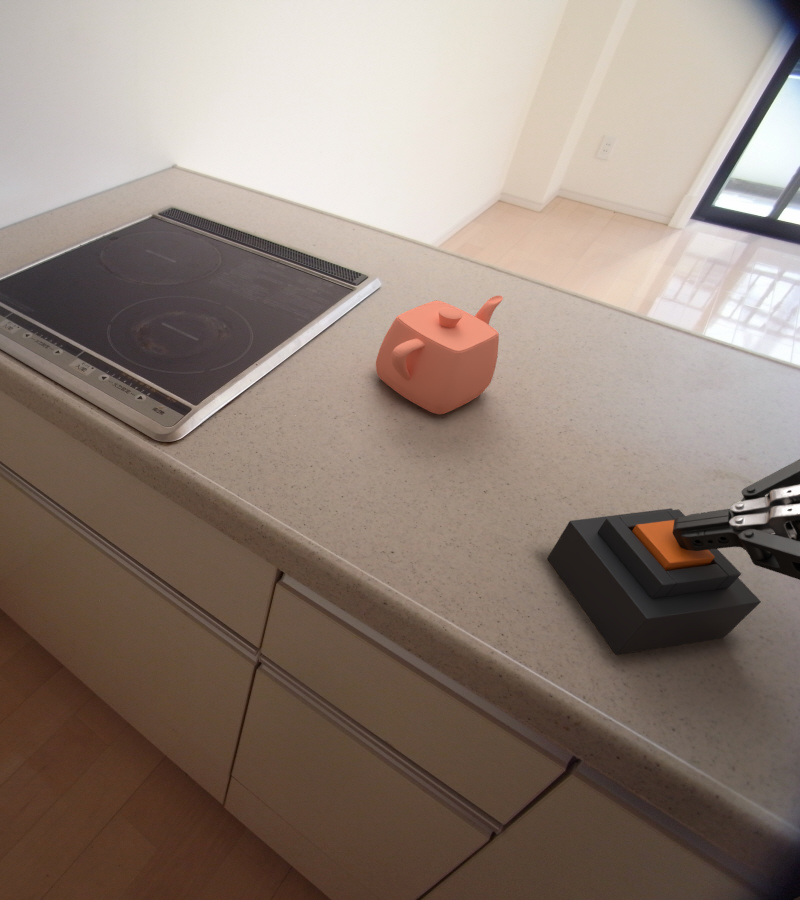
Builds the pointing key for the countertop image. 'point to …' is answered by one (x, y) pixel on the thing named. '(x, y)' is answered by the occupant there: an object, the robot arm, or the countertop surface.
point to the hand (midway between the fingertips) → (677, 534)
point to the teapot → (440, 355)
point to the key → (669, 547)
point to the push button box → (646, 586)
